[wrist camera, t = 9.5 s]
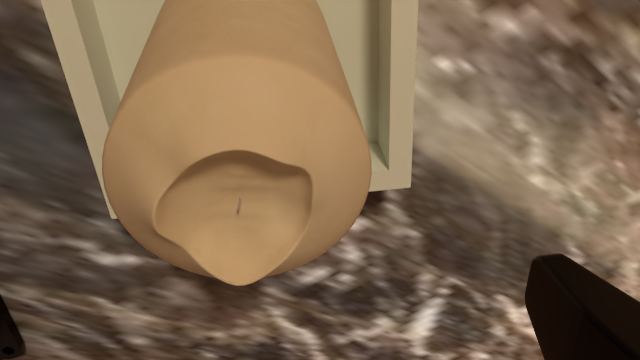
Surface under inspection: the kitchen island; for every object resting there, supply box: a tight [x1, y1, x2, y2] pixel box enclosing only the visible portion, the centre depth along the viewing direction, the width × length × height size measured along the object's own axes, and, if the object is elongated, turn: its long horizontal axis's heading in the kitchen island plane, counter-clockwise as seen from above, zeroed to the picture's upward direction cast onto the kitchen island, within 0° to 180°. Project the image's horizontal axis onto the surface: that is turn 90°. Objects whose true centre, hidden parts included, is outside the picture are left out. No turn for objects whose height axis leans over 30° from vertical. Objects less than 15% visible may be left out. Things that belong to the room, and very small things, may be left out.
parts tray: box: [41, 0, 418, 219], centre depth 18 cm, size 11×11×2 cm
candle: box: [102, 0, 372, 286], centre depth 15 cm, size 6×6×10 cm
